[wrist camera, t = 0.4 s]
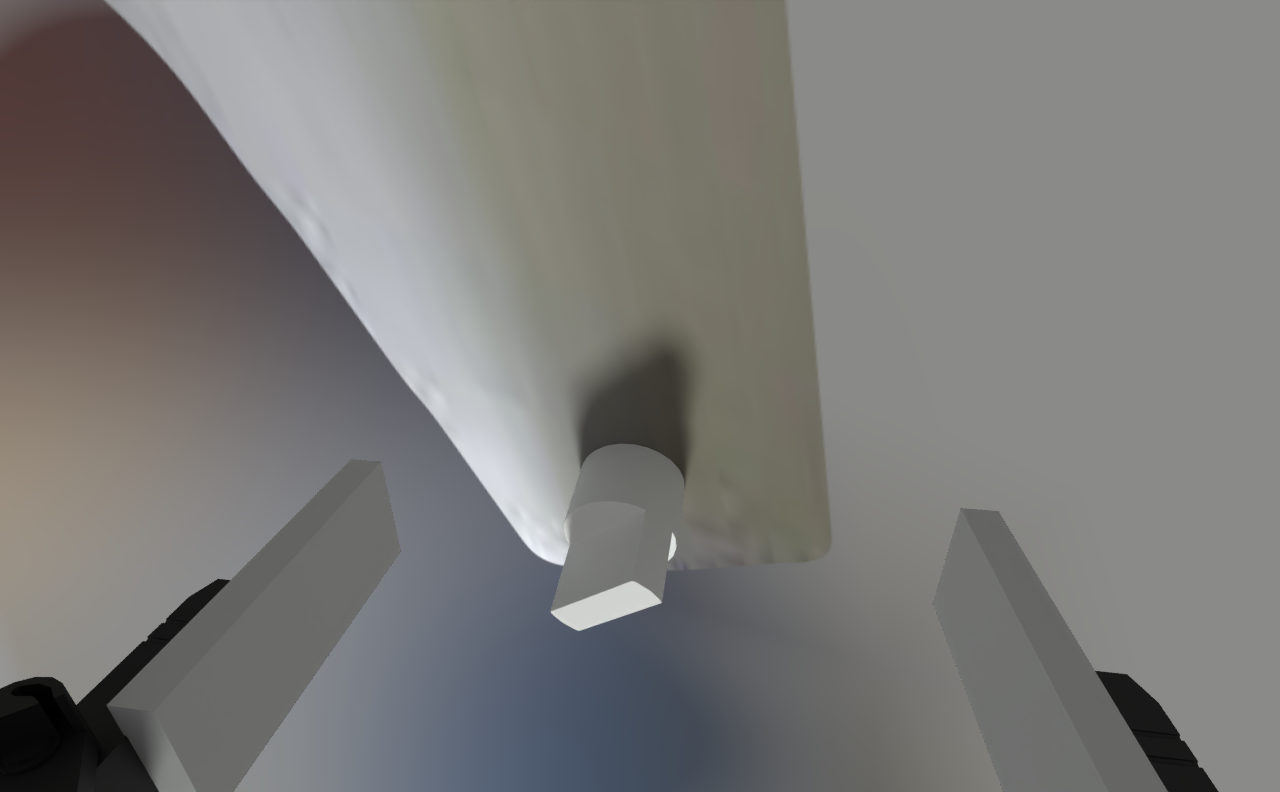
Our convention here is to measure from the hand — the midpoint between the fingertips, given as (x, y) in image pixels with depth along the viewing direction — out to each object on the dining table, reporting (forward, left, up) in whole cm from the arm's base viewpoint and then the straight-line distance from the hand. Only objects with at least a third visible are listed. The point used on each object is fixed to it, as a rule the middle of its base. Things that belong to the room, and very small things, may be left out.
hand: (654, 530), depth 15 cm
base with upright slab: (+25, +16, -26) cm, 39 cm away
